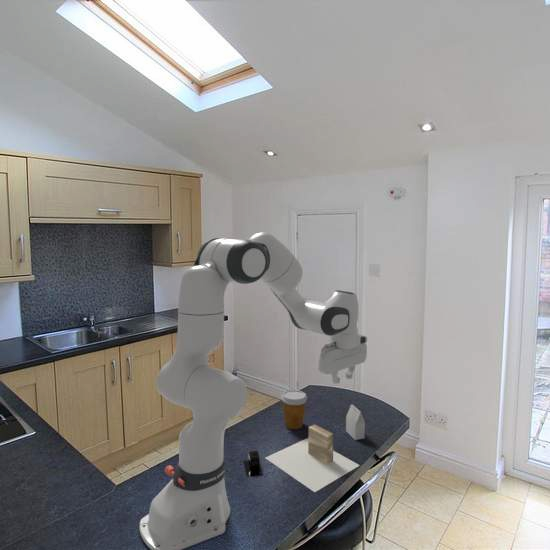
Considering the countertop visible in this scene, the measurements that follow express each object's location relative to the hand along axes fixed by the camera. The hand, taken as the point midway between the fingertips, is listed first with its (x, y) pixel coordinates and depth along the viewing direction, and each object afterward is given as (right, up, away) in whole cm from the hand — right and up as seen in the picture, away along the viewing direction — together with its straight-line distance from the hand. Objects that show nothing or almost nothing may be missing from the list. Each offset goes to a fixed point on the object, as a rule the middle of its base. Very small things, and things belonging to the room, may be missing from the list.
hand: (342, 380), depth 134 cm
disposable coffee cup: (-15, -21, +17) cm, 32 cm away
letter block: (-8, -24, -4) cm, 25 cm away
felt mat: (-11, -24, -6) cm, 27 cm away
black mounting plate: (-29, -25, -9) cm, 39 cm away
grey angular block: (+6, -22, +11) cm, 26 cm away
